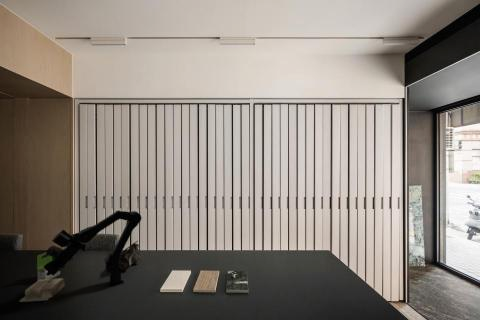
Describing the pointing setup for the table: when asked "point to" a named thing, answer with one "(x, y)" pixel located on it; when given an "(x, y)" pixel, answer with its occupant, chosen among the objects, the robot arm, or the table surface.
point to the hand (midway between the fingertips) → (47, 275)
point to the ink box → (40, 267)
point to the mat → (33, 299)
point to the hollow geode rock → (130, 256)
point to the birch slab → (44, 288)
